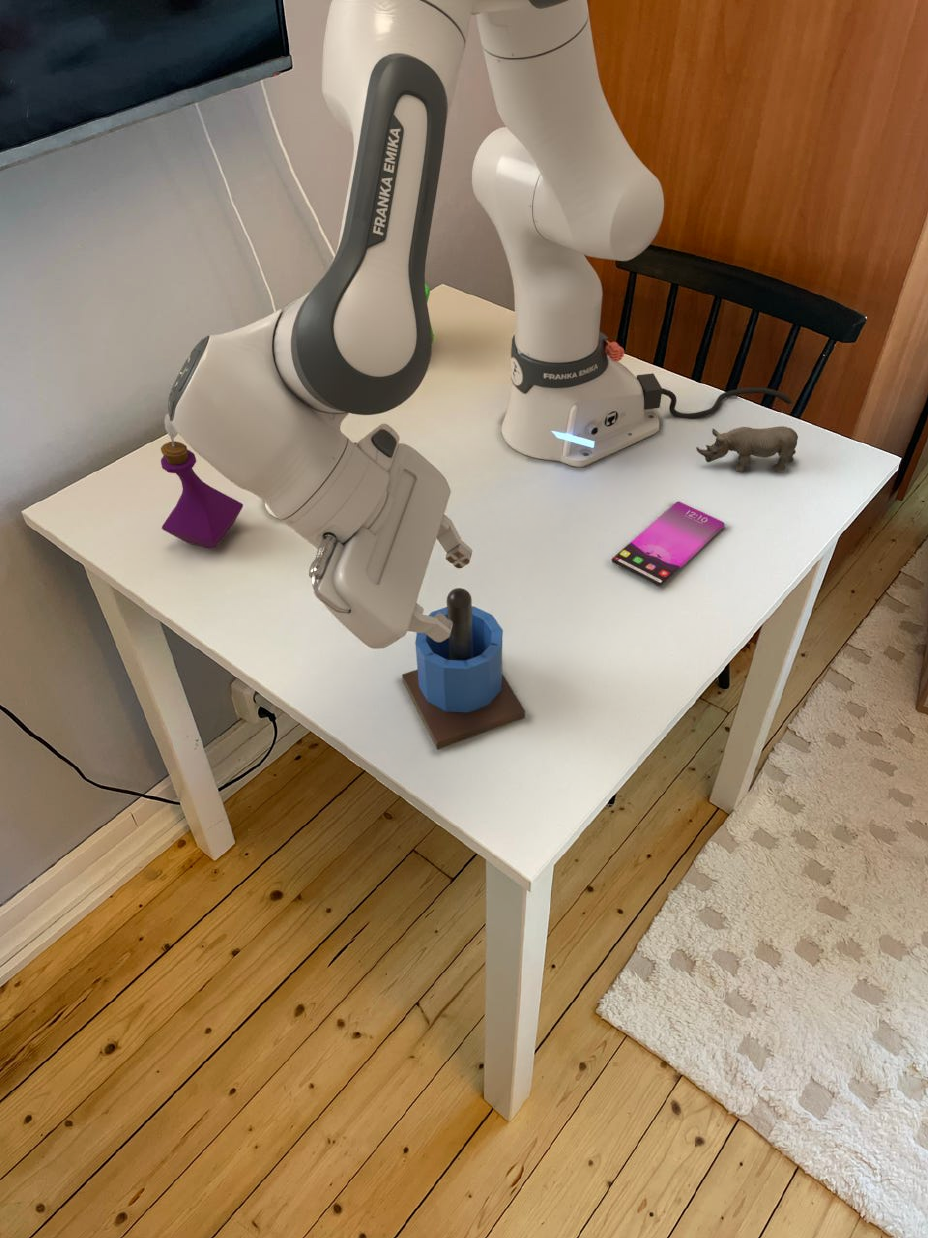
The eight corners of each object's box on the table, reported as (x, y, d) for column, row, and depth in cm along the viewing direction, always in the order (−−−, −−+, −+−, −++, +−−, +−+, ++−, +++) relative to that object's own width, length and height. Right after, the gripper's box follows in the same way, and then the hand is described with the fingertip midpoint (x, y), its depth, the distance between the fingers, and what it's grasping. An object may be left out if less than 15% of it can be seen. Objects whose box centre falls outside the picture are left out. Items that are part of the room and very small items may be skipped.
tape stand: (485, 653, 107) (485, 545, 96) (524, 717, 101) (529, 610, 89) (402, 681, 105) (391, 573, 93) (437, 749, 98) (429, 642, 87)
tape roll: (424, 648, 107) (421, 603, 101) (503, 651, 106) (504, 607, 101) (415, 710, 100) (411, 666, 95) (499, 714, 100) (499, 670, 95)
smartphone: (609, 564, 117) (610, 558, 116) (676, 503, 125) (677, 498, 124) (660, 590, 114) (661, 585, 113) (725, 526, 121) (726, 521, 121)
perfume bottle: (219, 561, 119) (185, 441, 106) (167, 548, 121) (128, 428, 108) (248, 523, 124) (220, 404, 111) (198, 511, 126) (164, 393, 113)
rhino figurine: (690, 455, 132) (696, 418, 128) (790, 455, 132) (801, 418, 127) (694, 474, 129) (701, 437, 125) (797, 473, 129) (808, 436, 124)
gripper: (327, 566, 72) (459, 669, 77) (391, 411, 85) (499, 508, 91) (279, 602, 75) (408, 697, 81) (348, 448, 89) (454, 538, 95)
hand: (457, 596), depth 86 cm, fingers open, 8 cm apart
